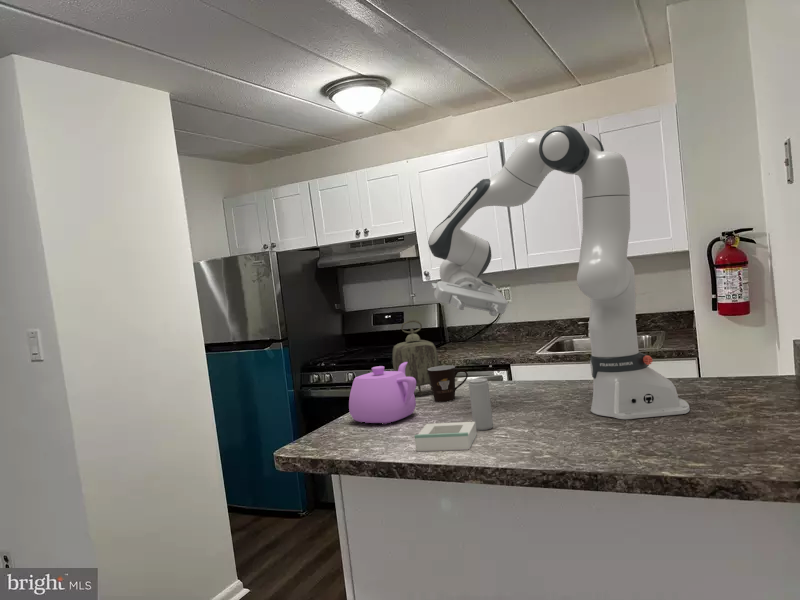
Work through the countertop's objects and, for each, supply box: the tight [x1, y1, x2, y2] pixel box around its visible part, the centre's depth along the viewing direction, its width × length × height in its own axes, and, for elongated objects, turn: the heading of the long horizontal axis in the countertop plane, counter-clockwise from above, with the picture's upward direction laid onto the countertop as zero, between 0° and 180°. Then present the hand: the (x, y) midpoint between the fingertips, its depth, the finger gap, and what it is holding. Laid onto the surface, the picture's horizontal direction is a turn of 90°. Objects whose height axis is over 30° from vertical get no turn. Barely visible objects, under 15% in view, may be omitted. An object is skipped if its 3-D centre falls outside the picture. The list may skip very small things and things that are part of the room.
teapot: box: [348, 362, 417, 425], centre depth 166 cm, size 23×21×15 cm
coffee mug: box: [428, 365, 469, 403], centre depth 181 cm, size 12×9×10 cm
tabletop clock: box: [391, 319, 440, 397], centre depth 193 cm, size 14×9×25 cm, turn 98°
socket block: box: [414, 421, 478, 452], centre depth 134 cm, size 12×12×4 cm
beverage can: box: [468, 377, 494, 431], centre depth 143 cm, size 5×5×12 cm
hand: (478, 310), depth 151 cm, fingers open, 8 cm apart
